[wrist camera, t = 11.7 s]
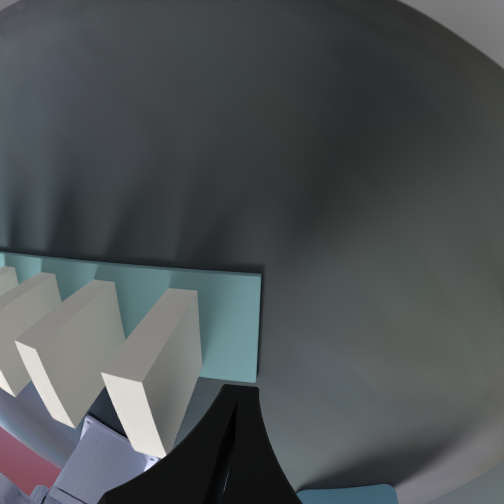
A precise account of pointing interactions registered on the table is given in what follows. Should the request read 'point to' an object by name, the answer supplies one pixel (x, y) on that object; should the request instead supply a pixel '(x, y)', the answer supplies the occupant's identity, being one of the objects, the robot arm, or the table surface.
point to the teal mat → (154, 286)
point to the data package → (350, 495)
